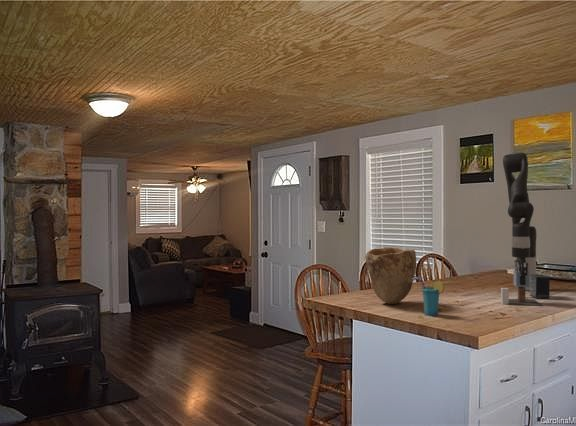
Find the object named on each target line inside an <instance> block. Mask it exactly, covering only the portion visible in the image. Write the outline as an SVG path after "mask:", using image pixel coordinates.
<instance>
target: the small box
mask: <svg viewBox="0 0 576 426" xmlns="http://www.w3.org/2000/svg"><path fill="white" fill-rule="evenodd" d="M529 293H530V294H529V296H530V297H532V298H534V300H550V276H546V275H544V274H536V275H534V274H530V290H529Z"/></svg>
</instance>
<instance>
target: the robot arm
mask: <svg viewBox="0 0 576 426" xmlns="http://www.w3.org/2000/svg"><path fill="white" fill-rule="evenodd" d="M527 155H528V154H526V152H518V153H517V152H516V153H510V154H505V155H503V157H502V165H503V171H504V176H505V180H506V185H507V195H508V196H507V197H508V203H509V205H508V207H507V215H508V216H509V217H510V218H511V223H512V228H511V230H512V231H511V233H512V234H511V237H512V238H511V257H512V258H516V259H514V271H519V272H520V285H526V276H527V272H529V287H525V291H530V274H534V275H537V229H536V227H535V226H532V225H531V221H532V217H533V215H534V211H535V210H534V206H533V203H531V202H530V197H529V193H528V178H529V177H528V175H529V161H528V160H529V159H528V156H527ZM513 173H519V174H518V175H517V176H516V178H515V176H514V175H513ZM522 219H524V220H523V221H521V220H522ZM530 225H531V226H530ZM523 272H524V273H523ZM516 289H517V290H518V287H516Z"/></svg>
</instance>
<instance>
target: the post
mask: <svg viewBox="0 0 576 426" xmlns="http://www.w3.org/2000/svg"><path fill="white" fill-rule="evenodd" d="M509 294H510V292H509V288H508V287H500V302H501V303H500V304H501V305H508V304H509V299H510V298H509V297H510V295H509ZM508 306H509V305H508Z"/></svg>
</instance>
